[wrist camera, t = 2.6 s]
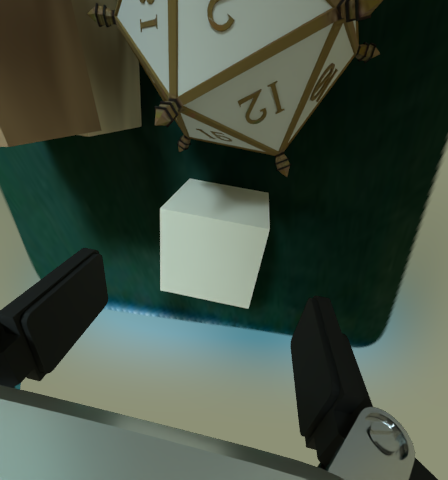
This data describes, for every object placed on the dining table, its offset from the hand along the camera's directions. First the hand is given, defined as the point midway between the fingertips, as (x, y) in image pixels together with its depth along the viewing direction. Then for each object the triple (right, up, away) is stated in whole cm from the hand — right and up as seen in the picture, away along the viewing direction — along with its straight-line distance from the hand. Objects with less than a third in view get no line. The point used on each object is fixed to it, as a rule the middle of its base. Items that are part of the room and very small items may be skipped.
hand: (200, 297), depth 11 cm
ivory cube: (+1, +4, +5) cm, 7 cm away
